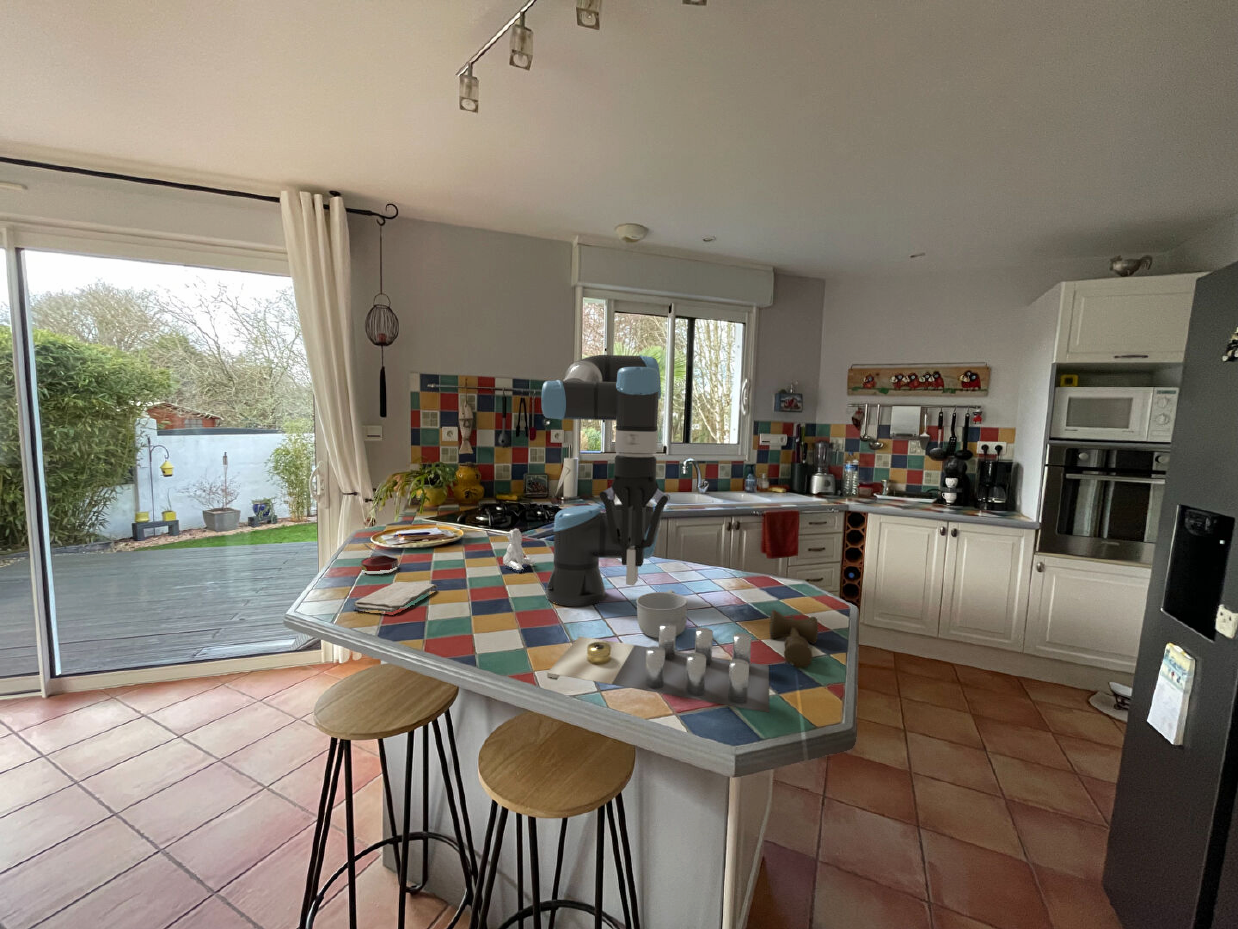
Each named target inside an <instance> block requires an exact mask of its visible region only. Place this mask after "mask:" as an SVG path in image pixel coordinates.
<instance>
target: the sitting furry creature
mask: <svg viewBox="0 0 1238 929" xmlns="http://www.w3.org/2000/svg"><path fill="white" fill-rule="evenodd" d="M505 537H507V539H508V541H509V543H510V544H508V546H507V549H506V553H505V554H504V556H503V558H502V561H503V562H502V563H503V565H504V564H505V565H507V566H509V567H512V568H513V569H516V570H521V569H523V570H524V568H523V567H522V565H523V564H534V565H535V563H536V562H535V559H532V558H531V557H524V550H523V546H522V540H523V536H522V533H521V531H520V529H519V528H514V529H510V531H508V532H506V533H505ZM534 562H535V563H534Z"/></svg>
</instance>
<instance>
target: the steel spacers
mask: <svg viewBox="0 0 1238 929" xmlns="http://www.w3.org/2000/svg"><path fill="white" fill-rule="evenodd" d="M713 636H714V631H713V630H712V629H710V628H708V627H698V628H696V629H695V636H694V637H695V638H694V640H695V642H694V652H689V654H688V655H687V666H686V692H687V693H688V694H690V695H692V696H701V695H703V694H704V693H705V672H706V666H707V665H710V664H711V662H712V657H713V638H714V637H713ZM676 638H677V636H676V625H675V624H672V623H661V624H660V625H659V639H658V646H655V645H654V646H647V647H648V648H647V649H646V676H645V684H646V686H647V687H649V688H652V689H659V688H662V687H663V686H664V665H665V660H671V659H674V658H675V651H676ZM732 638H733V639H732V656H731V657H732V658H731V659H729V660H730V661H729V678H728V699H729V700H730V701H731V702H733V703H737V704H743V703H746V702H747V698H748V679H749V670H750V663H751V652H752V651H751V649H752V636H751V634H748V633H746V632H736V633H734V634H733V637H732Z"/></svg>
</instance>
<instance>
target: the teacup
mask: <svg viewBox="0 0 1238 929" xmlns="http://www.w3.org/2000/svg"><path fill="white" fill-rule="evenodd" d="M635 601H636V609H637V610H636V612H637V623H638V627H639V630H640V631H641V632H642V633H643V634H645V636H648V637H650V638H652V639H653V638H654V639H658V640H659V625H660V624H661V623H672V624H675V625H676V637H678V636H679V635H680V634H682V633H683V632H684V631H685V629H686V626H687V614H688V613H687V604H688V600H687V598H686V597H685V596H683V595H681V594H678V593H676V592H675V591H674V590H670V589H669V590H667V591H666V592H665V591H656V592H655V591H654V592H650V593H649V592H648V593H645V594H642V595H640V596H639V597H637V598H636V600H635Z"/></svg>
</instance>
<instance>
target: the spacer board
mask: <svg viewBox="0 0 1238 929" xmlns="http://www.w3.org/2000/svg"><path fill="white" fill-rule="evenodd" d="M595 642H603V643H607V644H609V645H610V646H611V656H610V662H609V663H607V664H604V665H594V664H591V663H589V662H588V661H587V647H588V645H589V644H591V643H595ZM648 647H649V646H644V645H643V646H642V645H637V644H631V643H630V644H629V643H624V642H617V641H610V640H603V639H597V638H593V637H592V638H591V637H586V636H578V637H577V639H576V640H574V641H573V643H572V644H571V645H570V646H569V647H568V649H567V650H566V651H565V652H564V653H563V654H562V655H561V657H560V658H559V659H558V660H557V661H556V662H555V663H554V664H553V665H552V667H551V668H550V669H549V670H548V671H547V673H546V676H547V678H550V677H552V678H551V679H556V678H557V680H558V679H559V678H560V677H561V676H563V677H568V678H573V679H579V680H584V681H585V680H586V681H591V682H597V683H601V684H608V685H613V686H618V687H624V688H629V689H630V688H631V689H636V690H642V691H647V692H653V693H658V694H663V695H667V696H668V695H669V696H673V697H674V696H676V697H680V698H686V699H691V700H697V701H702V702H707V703H714V704H719V705H725V706H731V707H736V708H741V709H746V710H754V711H759V712H766V713H770V680H769V679H770V678H769V677H770V676H769V675H770V670H769V667H770V666H769V665H767V664H759V663H755V662H754V663H753V662H750V670H749V679H748V698H747V702H746V703H743V704H737V703H733V702H731V701H730V700H729V699H728V678H729V661H730V660H731V659H727V658H722V657H716V656H715V657H714V656H712V662H711V664H710V665H707V666H706V672H705V693H704V694H703V695H701V696H692V695H690V694H688V693H687V692H686V666H687V655H688V654H689V653H690V652H689V653H688V652H681V651H676V650H675V658H674V659H671V660H665V665H664V686H663V687H662V688H659V689H652V688H649V687H647V686H646V684H645V676H646V649H647V648H648Z"/></svg>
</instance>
